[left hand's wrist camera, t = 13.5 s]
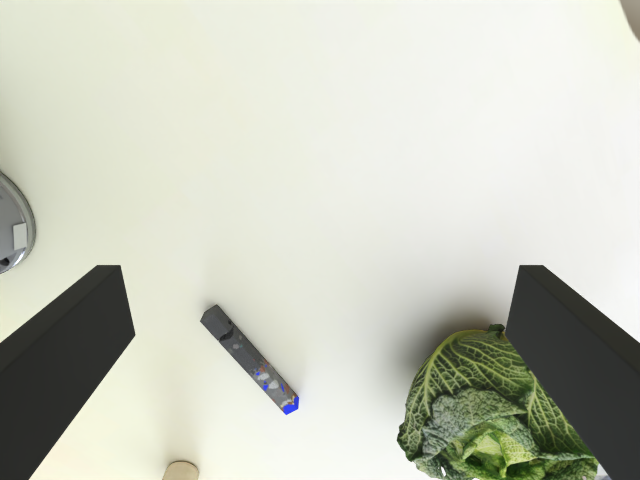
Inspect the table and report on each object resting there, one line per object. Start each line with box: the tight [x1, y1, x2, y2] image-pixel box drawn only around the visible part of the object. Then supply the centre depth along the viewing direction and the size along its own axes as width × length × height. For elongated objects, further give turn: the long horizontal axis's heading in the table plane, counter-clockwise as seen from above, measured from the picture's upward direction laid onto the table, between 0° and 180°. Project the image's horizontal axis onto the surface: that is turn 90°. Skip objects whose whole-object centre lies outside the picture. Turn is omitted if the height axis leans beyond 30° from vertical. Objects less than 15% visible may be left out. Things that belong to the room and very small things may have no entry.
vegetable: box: [397, 324, 599, 480], centre depth 48 cm, size 20×19×20 cm
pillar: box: [200, 305, 299, 415], centre depth 55 cm, size 2×2×20 cm
